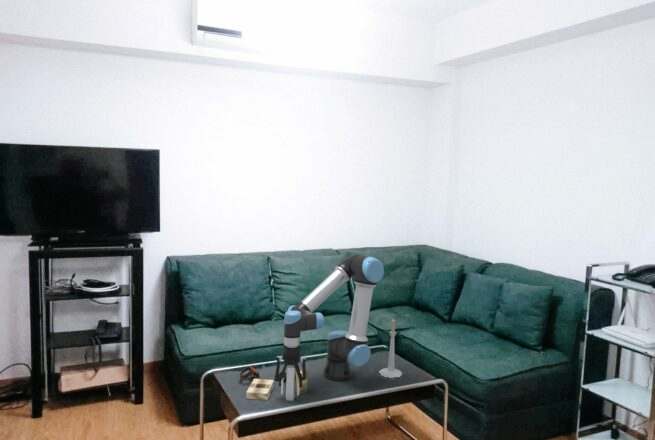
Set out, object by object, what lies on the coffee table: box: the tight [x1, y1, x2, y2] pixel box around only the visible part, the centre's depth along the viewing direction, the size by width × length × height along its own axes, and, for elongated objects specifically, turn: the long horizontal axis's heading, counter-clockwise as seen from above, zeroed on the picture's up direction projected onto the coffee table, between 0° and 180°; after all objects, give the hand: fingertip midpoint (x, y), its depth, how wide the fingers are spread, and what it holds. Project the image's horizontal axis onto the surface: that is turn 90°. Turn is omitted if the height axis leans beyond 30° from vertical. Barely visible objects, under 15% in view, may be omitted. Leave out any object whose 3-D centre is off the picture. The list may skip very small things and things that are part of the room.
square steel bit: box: [285, 367, 296, 402], centre depth 232 cm, size 3×3×14 cm
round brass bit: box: [295, 368, 309, 395], centre depth 241 cm, size 6×6×10 cm
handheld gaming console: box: [273, 371, 287, 383], centre depth 256 cm, size 12×7×10 cm
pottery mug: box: [239, 364, 261, 381], centre depth 252 cm, size 12×10×8 cm
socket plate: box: [245, 378, 275, 401], centre depth 238 cm, size 10×16×3 cm, turn 175°
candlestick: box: [378, 318, 403, 378], centre depth 265 cm, size 13×13×30 cm
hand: (290, 393), depth 232 cm, fingers open, 7 cm apart
